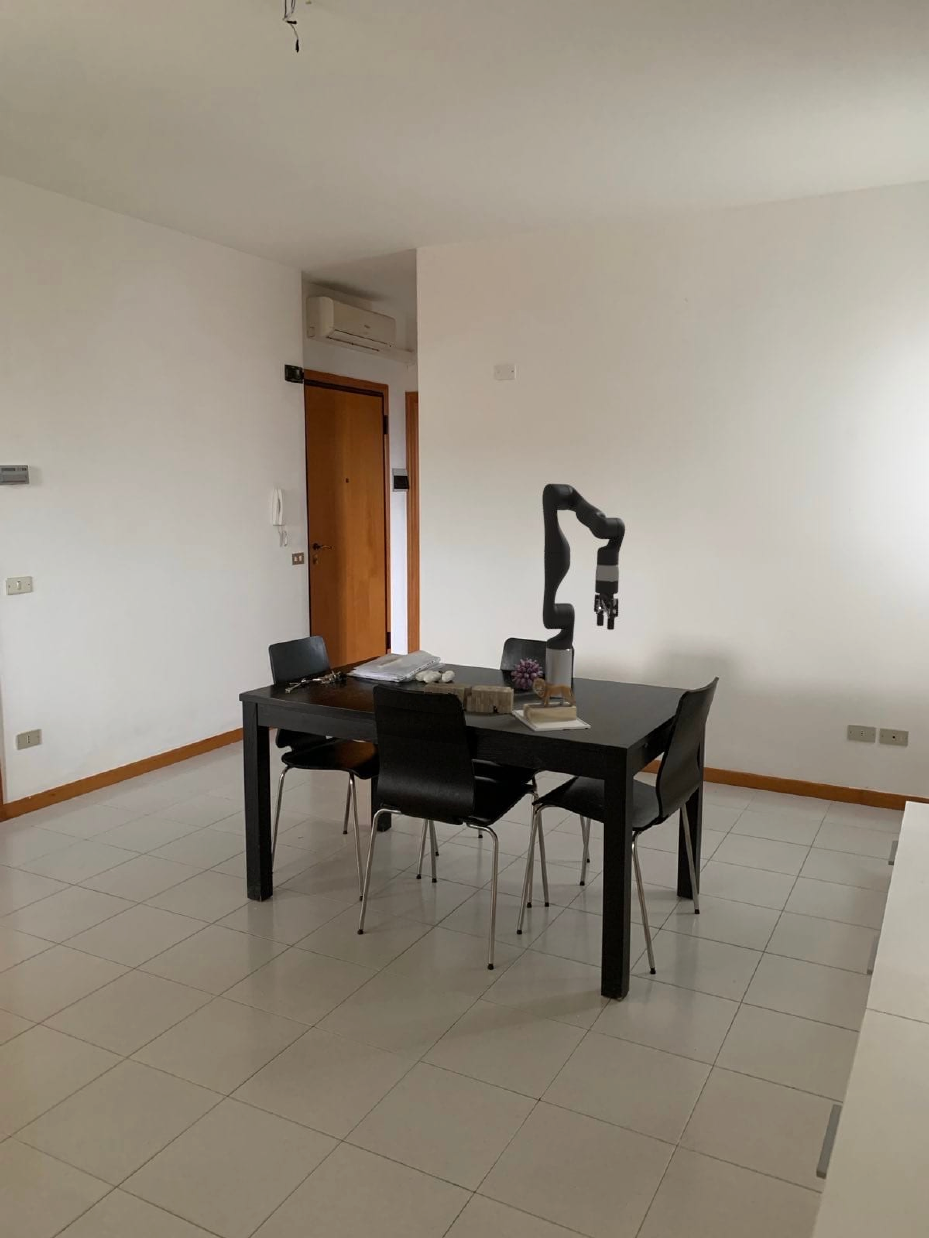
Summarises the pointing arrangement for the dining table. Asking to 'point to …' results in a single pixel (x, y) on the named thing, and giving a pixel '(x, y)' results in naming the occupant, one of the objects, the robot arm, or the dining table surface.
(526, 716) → the wooden box
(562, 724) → the mat
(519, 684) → the flower
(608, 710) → the dining table surface
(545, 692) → the lion figurine
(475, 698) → the block tower
